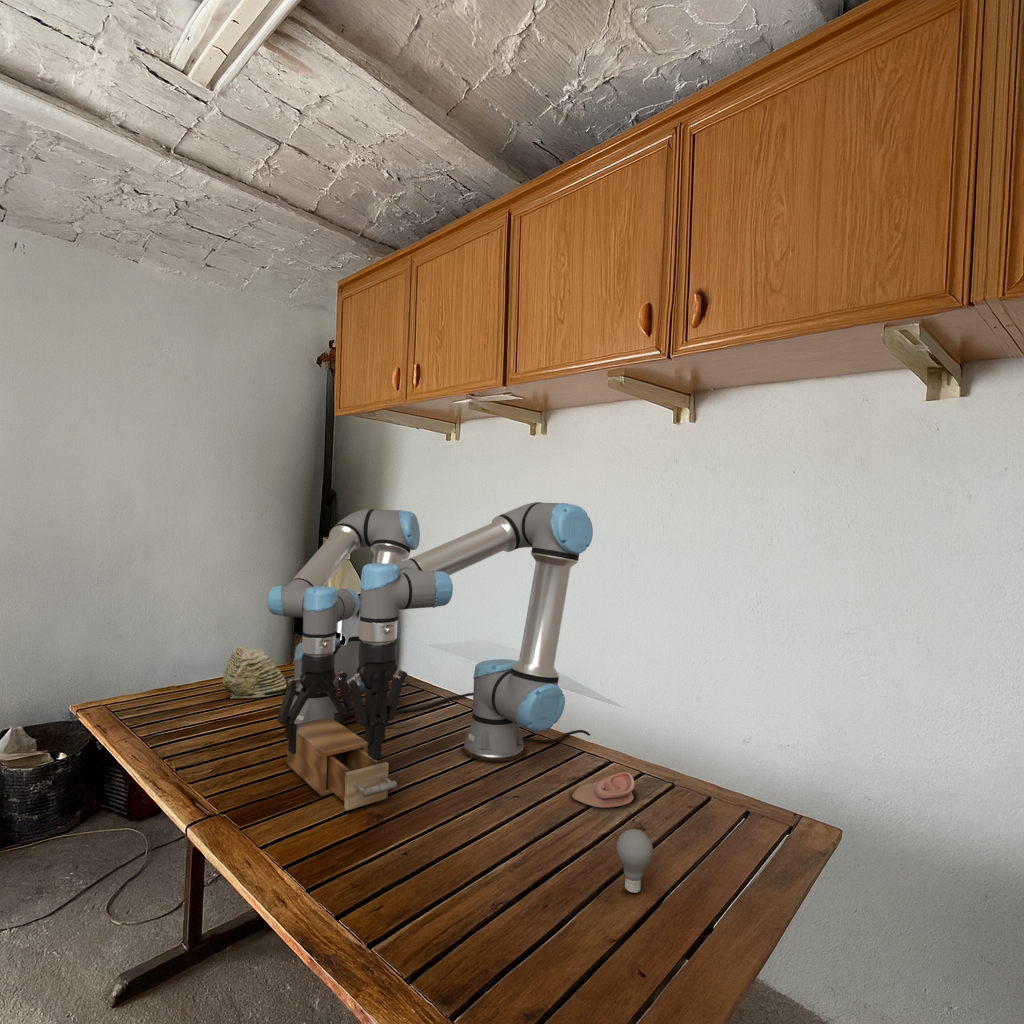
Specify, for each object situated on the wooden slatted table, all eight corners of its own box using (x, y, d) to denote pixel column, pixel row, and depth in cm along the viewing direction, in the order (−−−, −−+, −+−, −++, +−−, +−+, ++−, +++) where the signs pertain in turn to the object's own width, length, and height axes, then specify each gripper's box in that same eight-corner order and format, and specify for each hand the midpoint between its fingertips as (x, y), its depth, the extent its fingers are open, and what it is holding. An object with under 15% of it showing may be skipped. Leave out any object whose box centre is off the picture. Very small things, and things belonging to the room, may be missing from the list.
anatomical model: (571, 785, 135) (576, 763, 146) (570, 803, 135) (575, 781, 146) (634, 793, 132) (635, 771, 144) (633, 812, 132) (634, 788, 144)
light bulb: (610, 879, 108) (613, 822, 108) (644, 879, 109) (647, 822, 109) (619, 902, 102) (622, 840, 102) (655, 901, 103) (658, 840, 103)
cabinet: (366, 783, 141) (367, 742, 140) (321, 796, 134) (323, 753, 134) (328, 754, 156) (330, 716, 155) (286, 764, 149) (288, 725, 149)
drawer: (400, 808, 128) (402, 772, 128) (359, 822, 122) (360, 784, 122) (347, 767, 146) (349, 736, 146) (309, 777, 140) (310, 744, 140)
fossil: (218, 695, 195) (220, 647, 195) (278, 685, 208) (279, 640, 207) (228, 703, 189) (230, 653, 188) (289, 692, 201) (290, 645, 201)
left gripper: (275, 663, 139) (271, 763, 139) (370, 650, 153) (366, 741, 154) (263, 655, 144) (260, 752, 145) (356, 644, 159) (352, 731, 160)
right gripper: (356, 648, 120) (353, 771, 121) (415, 640, 129) (412, 755, 129) (339, 640, 126) (335, 758, 126) (397, 633, 134) (393, 743, 135)
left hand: (315, 746), depth 149 cm, fingers closed on cabinet, 10 cm apart
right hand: (374, 756), depth 128 cm, fingers closed
